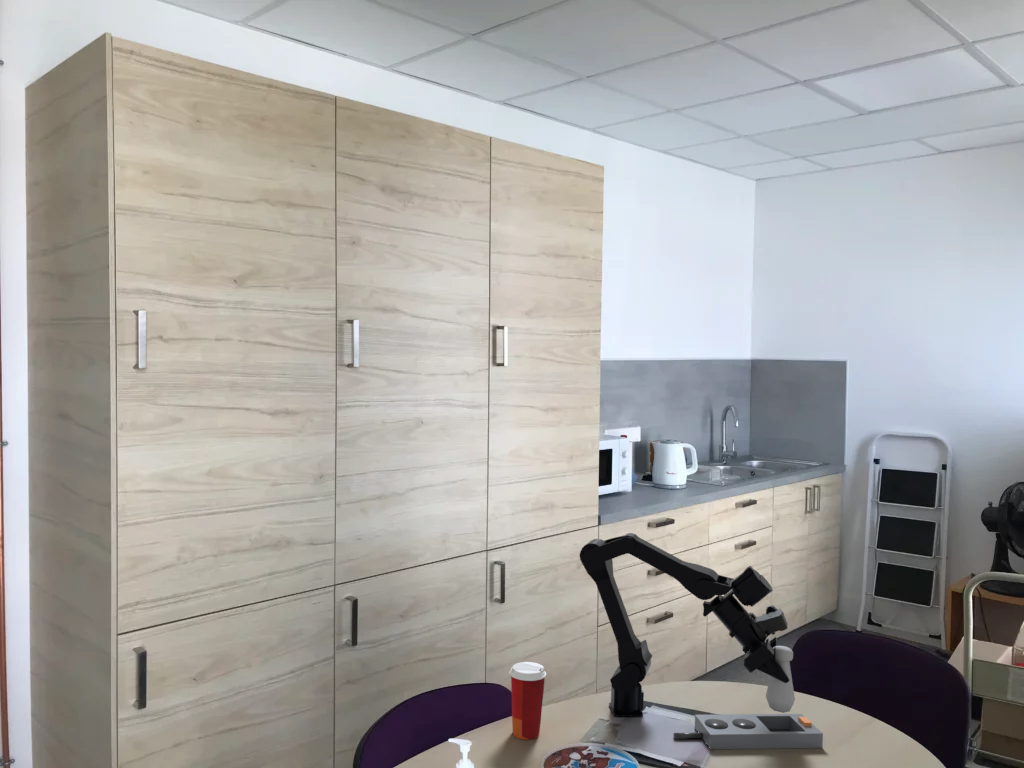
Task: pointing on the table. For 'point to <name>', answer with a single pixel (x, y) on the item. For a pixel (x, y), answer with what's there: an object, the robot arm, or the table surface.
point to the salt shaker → (781, 683)
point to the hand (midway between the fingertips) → (787, 678)
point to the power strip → (755, 731)
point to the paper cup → (527, 699)
